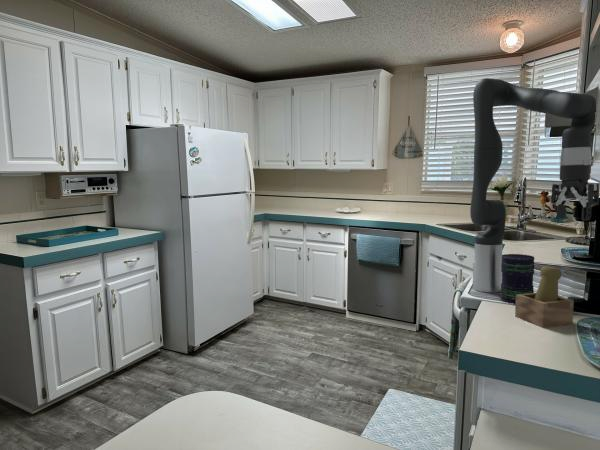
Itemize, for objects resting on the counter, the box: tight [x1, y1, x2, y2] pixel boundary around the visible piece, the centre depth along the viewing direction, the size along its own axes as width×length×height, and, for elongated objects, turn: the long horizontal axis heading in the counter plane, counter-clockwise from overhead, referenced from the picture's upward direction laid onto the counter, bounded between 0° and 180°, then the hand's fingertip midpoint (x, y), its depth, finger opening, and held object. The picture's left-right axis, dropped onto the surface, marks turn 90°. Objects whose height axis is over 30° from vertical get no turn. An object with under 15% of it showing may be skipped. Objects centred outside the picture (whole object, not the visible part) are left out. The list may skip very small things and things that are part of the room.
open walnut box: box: [514, 292, 575, 329], centre depth 118 cm, size 10×10×7 cm
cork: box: [535, 266, 562, 302], centre depth 118 cm, size 6×6×11 cm
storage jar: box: [500, 253, 535, 305], centre depth 138 cm, size 10×10×15 cm
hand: (573, 219), depth 123 cm, fingers open, 8 cm apart
